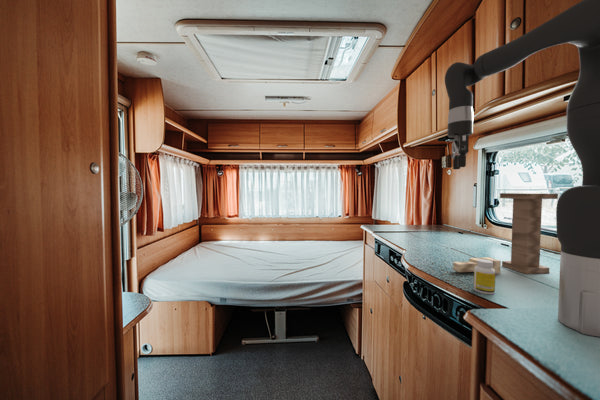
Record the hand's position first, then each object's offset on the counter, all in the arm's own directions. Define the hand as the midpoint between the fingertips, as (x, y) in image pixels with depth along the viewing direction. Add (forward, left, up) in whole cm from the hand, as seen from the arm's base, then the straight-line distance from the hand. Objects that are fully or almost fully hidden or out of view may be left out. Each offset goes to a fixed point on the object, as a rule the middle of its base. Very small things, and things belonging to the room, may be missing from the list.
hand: (458, 168), depth 86 cm
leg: (+12, -8, -40) cm, 43 cm away
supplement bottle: (-9, -6, -40) cm, 42 cm away
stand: (+24, -28, -40) cm, 54 cm away
